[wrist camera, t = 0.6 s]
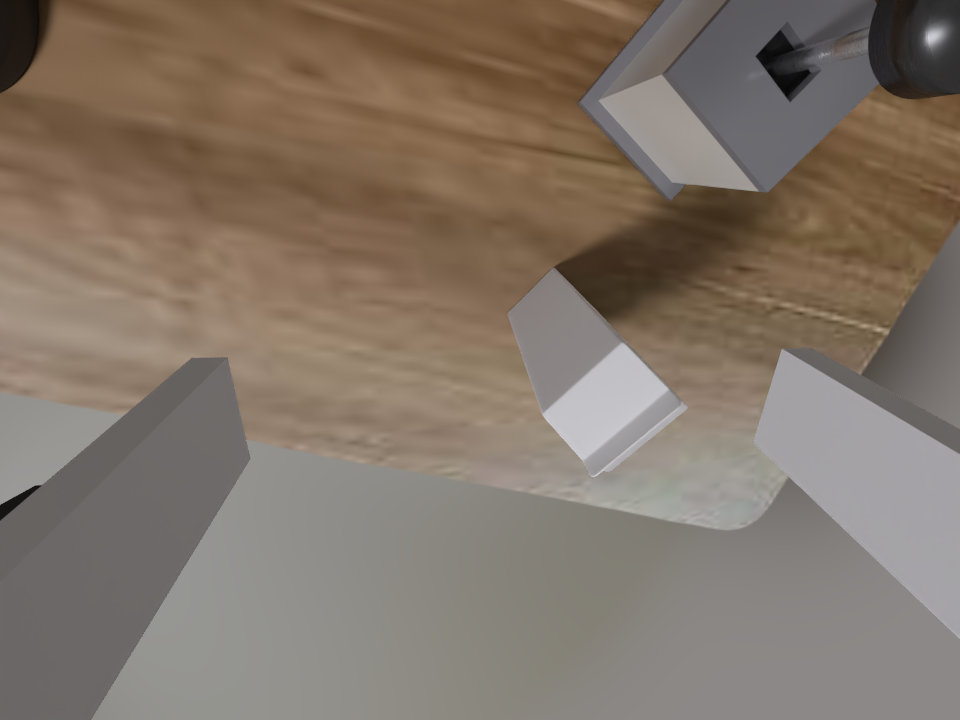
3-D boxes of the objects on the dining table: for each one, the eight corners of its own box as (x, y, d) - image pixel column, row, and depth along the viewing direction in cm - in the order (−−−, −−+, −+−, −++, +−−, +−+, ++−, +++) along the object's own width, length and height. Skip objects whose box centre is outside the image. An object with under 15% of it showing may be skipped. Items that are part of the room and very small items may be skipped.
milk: (596, 309, 44) (721, 439, 24) (549, 353, 45) (629, 511, 25) (552, 265, 42) (648, 364, 22) (504, 313, 43) (552, 448, 23)
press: (576, 103, 37) (640, 73, 24) (705, -51, 33) (858, -179, 21) (665, 199, 40) (763, 218, 27) (791, 68, 37) (969, 19, 24)
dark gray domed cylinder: (683, 78, 27) (882, 8, 15) (765, -14, 26) (1066, -181, 13) (742, 150, 29) (966, 143, 16) (821, 68, 27) (1138, -10, 15)
